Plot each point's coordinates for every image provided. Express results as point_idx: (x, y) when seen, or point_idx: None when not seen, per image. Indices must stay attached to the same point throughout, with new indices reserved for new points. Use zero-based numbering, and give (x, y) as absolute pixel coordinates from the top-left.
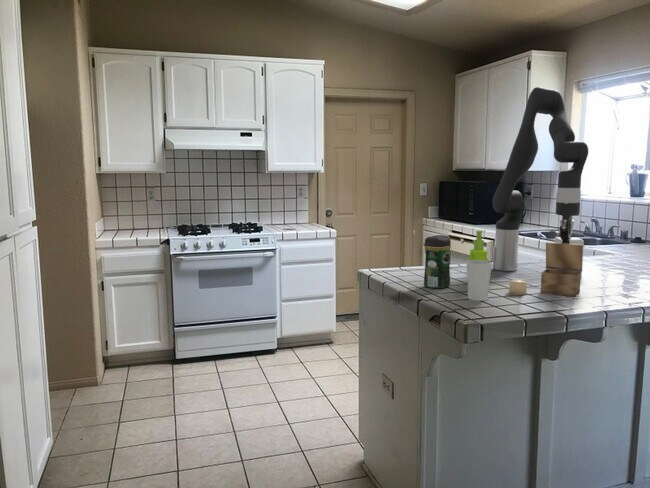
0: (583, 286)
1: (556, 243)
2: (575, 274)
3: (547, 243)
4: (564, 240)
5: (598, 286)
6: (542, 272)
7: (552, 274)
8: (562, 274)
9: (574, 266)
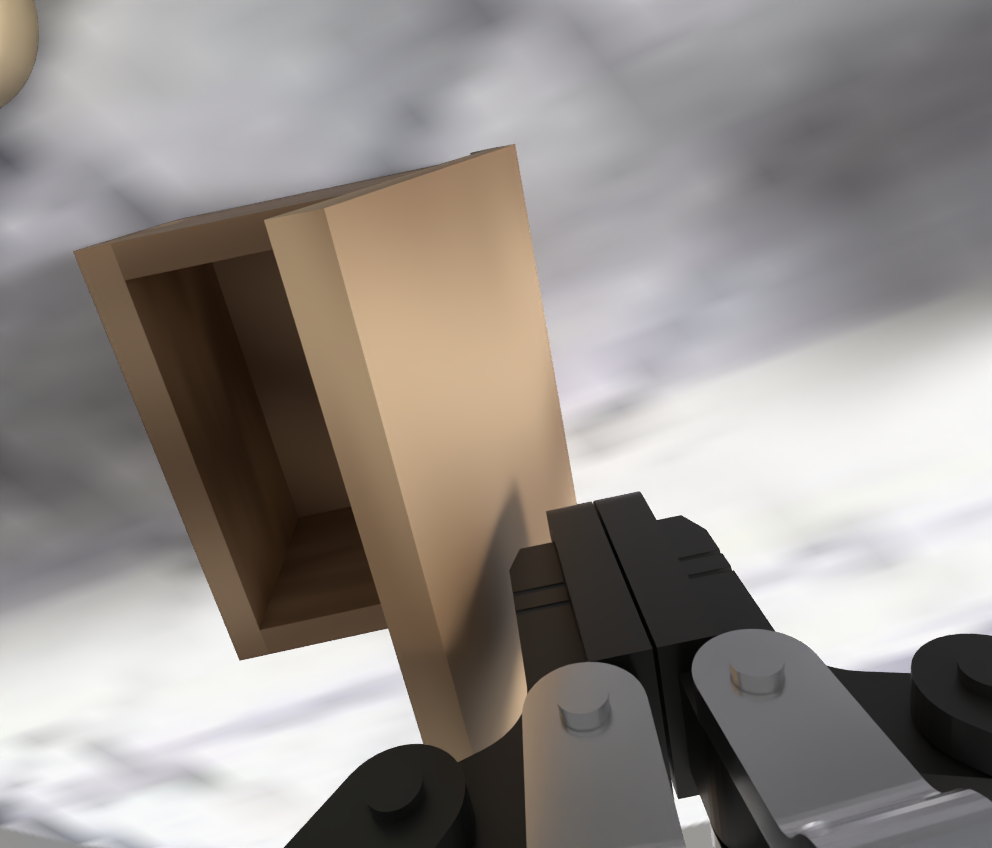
0: (812, 413)
1: (366, 543)
2: None
3: (292, 274)
4: (522, 756)
5: (889, 505)
6: (94, 258)
7: (139, 397)
8: (186, 516)
9: None
